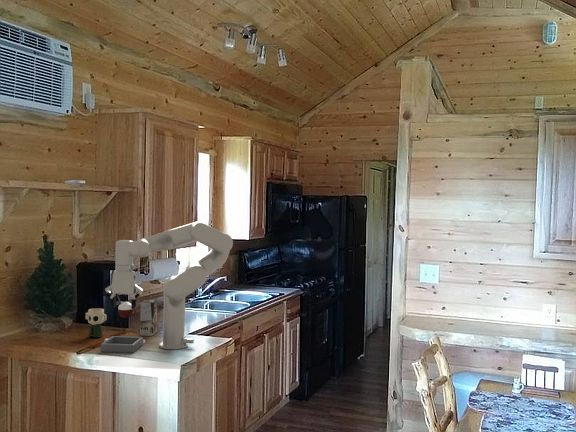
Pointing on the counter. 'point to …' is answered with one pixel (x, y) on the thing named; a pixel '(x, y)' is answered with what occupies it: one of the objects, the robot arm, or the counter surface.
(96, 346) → the counter surface
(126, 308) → the cocoa
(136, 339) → the tray
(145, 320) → the coffee box
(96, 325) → the big headed toy figurine
